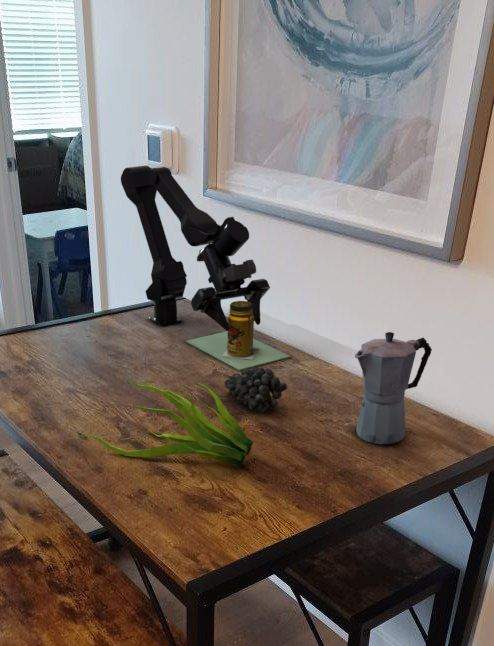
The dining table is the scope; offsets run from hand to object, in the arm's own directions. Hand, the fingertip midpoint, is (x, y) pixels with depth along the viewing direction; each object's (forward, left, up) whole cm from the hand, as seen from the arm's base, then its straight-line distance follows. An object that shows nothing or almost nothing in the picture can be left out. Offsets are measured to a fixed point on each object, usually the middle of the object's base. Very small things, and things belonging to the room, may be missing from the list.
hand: (243, 327), depth 162 cm
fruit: (+22, -14, -7) cm, 27 cm away
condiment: (-2, +1, -7) cm, 7 cm away
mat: (-4, +2, -7) cm, 9 cm away
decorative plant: (+31, -41, -7) cm, 52 cm away
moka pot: (+46, -2, -7) cm, 46 cm away
